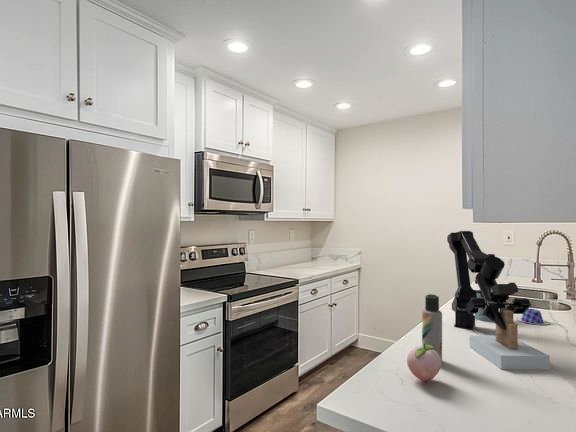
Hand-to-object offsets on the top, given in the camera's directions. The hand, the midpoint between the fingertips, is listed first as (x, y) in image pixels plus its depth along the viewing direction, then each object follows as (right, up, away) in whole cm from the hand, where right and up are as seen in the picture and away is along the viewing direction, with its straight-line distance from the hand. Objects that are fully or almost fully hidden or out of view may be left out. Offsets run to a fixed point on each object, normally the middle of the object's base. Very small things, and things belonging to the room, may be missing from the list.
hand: (509, 329), depth 110 cm
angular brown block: (0, -7, +1) cm, 7 cm away
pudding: (+37, -11, +42) cm, 57 cm away
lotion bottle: (-25, -9, -1) cm, 26 cm away
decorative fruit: (-33, -9, -16) cm, 37 cm away
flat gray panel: (0, -9, +1) cm, 9 cm away
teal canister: (+18, -10, +45) cm, 50 cm away
